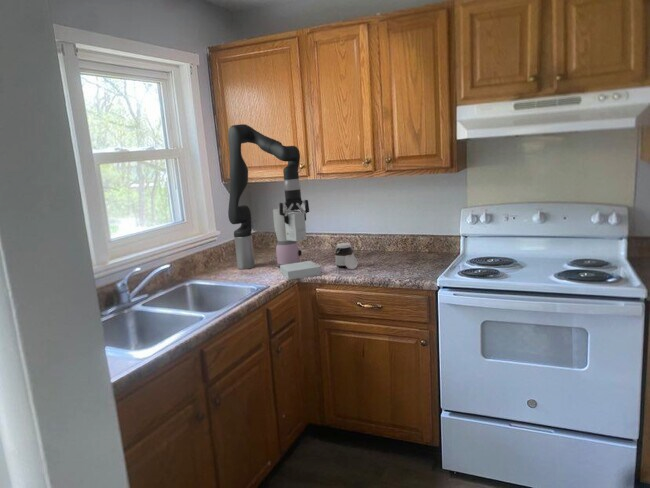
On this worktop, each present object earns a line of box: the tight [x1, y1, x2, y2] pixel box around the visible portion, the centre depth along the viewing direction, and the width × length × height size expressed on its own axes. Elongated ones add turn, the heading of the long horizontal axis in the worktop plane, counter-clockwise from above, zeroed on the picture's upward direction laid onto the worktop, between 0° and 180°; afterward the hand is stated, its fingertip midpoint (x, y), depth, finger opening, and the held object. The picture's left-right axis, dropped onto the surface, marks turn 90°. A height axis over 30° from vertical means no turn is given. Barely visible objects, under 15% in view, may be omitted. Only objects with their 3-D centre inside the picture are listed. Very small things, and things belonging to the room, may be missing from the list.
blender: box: [272, 205, 302, 269], centre depth 255 cm, size 16×12×32 cm
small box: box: [285, 211, 307, 242], centre depth 235 cm, size 8×6×13 cm
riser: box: [279, 260, 322, 281], centre depth 238 cm, size 16×16×4 cm
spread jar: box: [334, 242, 358, 270], centre depth 243 cm, size 12×11×12 cm
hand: (295, 222), depth 234 cm, fingers closed on small box, 8 cm apart
